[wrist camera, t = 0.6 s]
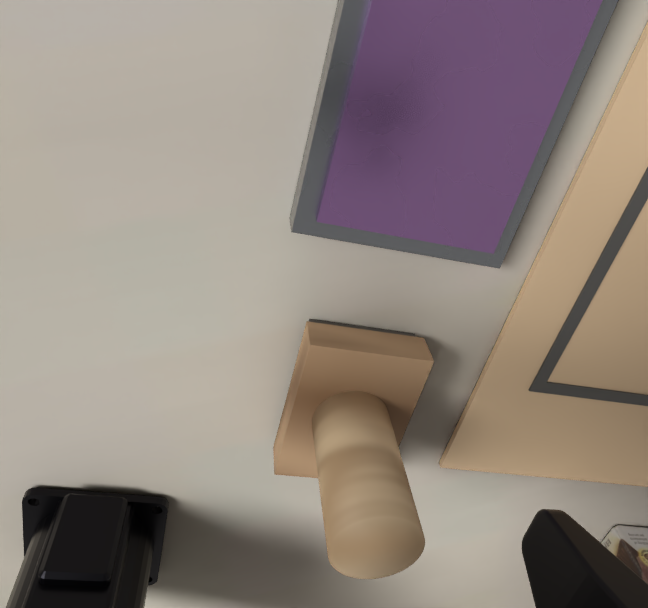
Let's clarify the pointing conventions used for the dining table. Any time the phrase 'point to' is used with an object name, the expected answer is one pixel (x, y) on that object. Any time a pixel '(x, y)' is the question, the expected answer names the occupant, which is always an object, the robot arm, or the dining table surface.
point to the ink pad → (440, 120)
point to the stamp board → (577, 324)
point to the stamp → (356, 441)
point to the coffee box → (630, 547)
